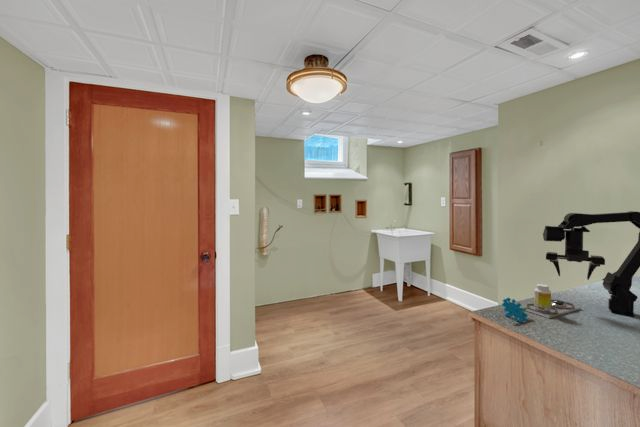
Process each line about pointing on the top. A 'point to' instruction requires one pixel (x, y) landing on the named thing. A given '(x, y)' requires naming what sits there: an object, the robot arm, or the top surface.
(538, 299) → the supplement bottle
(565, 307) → the flange plate
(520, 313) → the gear
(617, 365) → the top surface
